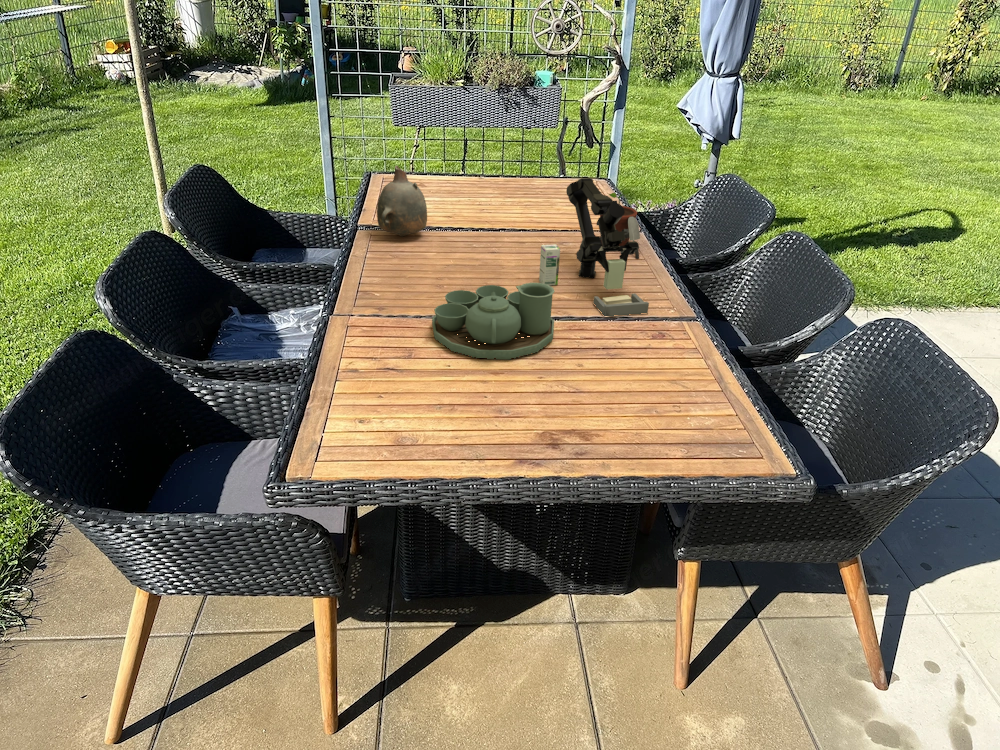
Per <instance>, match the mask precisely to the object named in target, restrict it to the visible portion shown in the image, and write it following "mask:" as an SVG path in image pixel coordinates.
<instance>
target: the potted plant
mask: <svg viewBox="0 0 1000 750" xmlns="http://www.w3.org/2000/svg"><path fill="white" fill-rule="evenodd" d="M631 191H632V189H627V188H625V189H624V190H623V191H622V194H620V195H619V196H617V193H616V192H612V193H609V194H608V196H610V198H613V199H615V198H618V204H620V205H621V203H620V202H621V197H622V196H624V195H627V194H629V193H630V192H631ZM621 206H622V207H623V208H624V211H625V212H624V215H623V216H622V218H621V219H620V220H619V221H618V223H617V224H615V228H616V230H618V232H622V230H623V229H628V230H629V238H625V241H622V243H621V244H619V246H624V245H625V244H626V243H627V242H633V241H636V240H637V241H638V240H640V239H641V234H640V224H639V223H638V220H637V215H638V211H637V209H635V208H633V207H631V206H630V207H629V206H625V205H621ZM599 216H600V217H601V216H602V215H599ZM600 217H599V218H600ZM601 243H602V240H601ZM602 246H603V245H602ZM639 253H640V252H639V249H638V250H637V251H636V252H635V253H634V255H635V257H634V258H635V259H639V258H640V254H639Z"/></svg>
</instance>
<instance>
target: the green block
mask: <svg viewBox="0 0 1000 750" xmlns="http://www.w3.org/2000/svg"><path fill="white" fill-rule="evenodd" d="M607 263H608V267H609V272H608V273H607V272H606V270H605V269H604V277H603V278H604V279H603V287H604V289H605V290H616V289H623V284H624V277H625V271H624V270H625V263H626V262H625V261H624V260H623V259H620V258H619V259H618V258H617V259H607Z"/></svg>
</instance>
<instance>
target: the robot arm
mask: <svg viewBox="0 0 1000 750" xmlns="http://www.w3.org/2000/svg"><path fill="white" fill-rule="evenodd" d="M566 196H567V197H568V200H569V202H570V203H571V204H572V205H573V206H574V208H575V213H576V217H577V221H578V225H579V229H580V230H579V231H580V234H581V238H582V239H581V243H580V246H579V249H578V250H577V252H576V253H575V255H576V260H578V262H580V268H579V270H578V274H577V275H578V276H579V278H586V277H589V278H588V279H595V278H596V273H597V272H596V264H597V263H596V262H598V264H600V266H601V267H602V268H603V269H604V271H605V270H606V272H607V273H608V272H609V267H608V263H607V260H608V259H607V253H613V252H614V253H615V252H619V253H620V255H619V256H618V257H619V259H623V260H624V261H625V262H626V263H625V270H624V272H626V270H627V264H628V259H629V256H630V255H632V256H633V255H635V252H636V251H637V250H639V249H640V245H639V242H638V241H636V240H634V241H633V240H632V241H629V242H627V243H626V244H625V245H624V246H619V244H621V243H622V241H625V238H629V230H628V229H623V230H622V232H618V230H616V228H615V224H617V223H618V221H619V220H620V219H621V218H622V216H623V215H624V212H625V211H624V208H623V207H622V206H623V205H621V203H620V204H619V202H618V200H613V199H612V197H611V196H610V197H609V195H605V194H602V192H601V191H600V190H599V188H598V187H597V184H595V183H594V179H593V178H591V177H582V178H579V179H577V180H576V181H573V182H571V183H569V184H568V186H567V187H566ZM588 200H589V202H590V203H591V205H590V210H591V212H592V213H593V215H594V216H600V215H602V216H601V217H598V219H597V220H596V226H598V230H599V234H600V236H597V235H595V230H594V228H593V223H592V222H593V221H592V218H591V213H590V211H589V205H588ZM629 239H630V238H629ZM601 240H602V243H601ZM602 245H603V246H602ZM578 276H577V277H578Z"/></svg>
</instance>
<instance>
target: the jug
mask: <svg viewBox="0 0 1000 750" xmlns="http://www.w3.org/2000/svg"><path fill="white" fill-rule="evenodd" d="M393 175H394V176H393V179H392V181H390V182H389V183H387V184H385V186H384V187H383V189H382V190H381V193H380V195H379V197H378V200H377V205H376V219H377V224H378V227H379V228H380V229H381V230H382V231H384V232H387V233H392V234H395V235H397V236H400V237H405V236H408V235H411V234H416V233H419V232H421V231H423V230H424V229H425V228H426V226H427V223H428V209H427V202H426V197H425V196H424V194H423V192H422V190H421V188H420V187H419V185H418V183H417V182H411V181H410V180H409V179H408V175H407V172H406V171H405V170H403V169H401V168H400V167H399V165H395V166H394V174H393Z"/></svg>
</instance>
